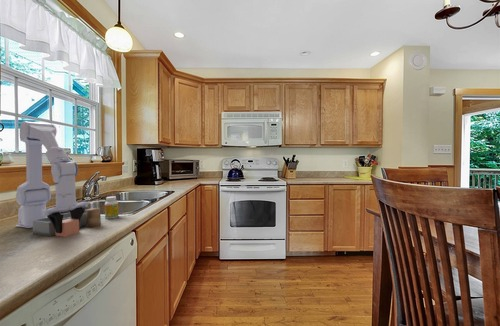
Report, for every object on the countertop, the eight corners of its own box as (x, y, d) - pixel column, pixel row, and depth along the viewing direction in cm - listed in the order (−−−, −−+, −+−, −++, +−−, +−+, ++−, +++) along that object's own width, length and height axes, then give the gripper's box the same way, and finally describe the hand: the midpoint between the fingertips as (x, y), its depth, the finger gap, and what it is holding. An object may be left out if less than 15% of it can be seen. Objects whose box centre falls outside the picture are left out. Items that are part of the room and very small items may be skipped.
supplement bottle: (112, 219, 102) (111, 198, 102) (102, 218, 103) (101, 198, 103) (121, 216, 108) (120, 196, 107) (111, 215, 109) (110, 195, 108)
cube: (55, 235, 82) (54, 222, 82) (70, 231, 86) (69, 218, 86) (64, 236, 80) (64, 223, 80) (79, 232, 85) (78, 219, 85)
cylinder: (83, 227, 91) (83, 210, 91) (95, 223, 96) (94, 207, 96) (92, 228, 90) (91, 210, 89) (103, 224, 94) (102, 208, 94)
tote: (33, 233, 84) (32, 220, 84) (83, 220, 101) (82, 209, 101) (49, 236, 81) (48, 222, 81) (97, 221, 98) (97, 210, 98)
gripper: (50, 198, 75) (52, 238, 75) (92, 191, 88) (94, 225, 89) (36, 197, 77) (38, 236, 77) (80, 190, 91) (81, 223, 91)
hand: (67, 230), depth 83 cm, fingers closed on cube, 5 cm apart
